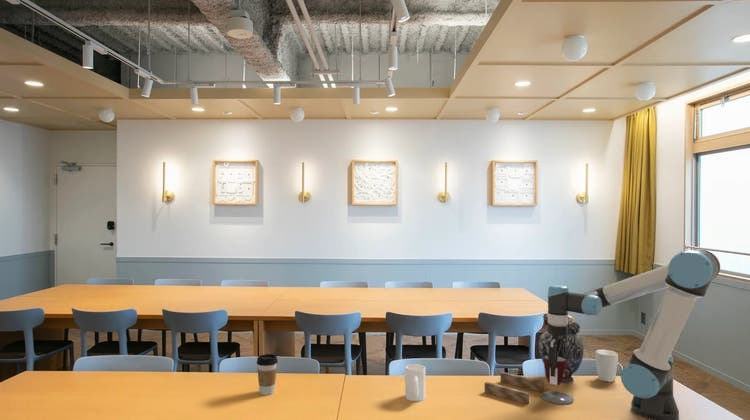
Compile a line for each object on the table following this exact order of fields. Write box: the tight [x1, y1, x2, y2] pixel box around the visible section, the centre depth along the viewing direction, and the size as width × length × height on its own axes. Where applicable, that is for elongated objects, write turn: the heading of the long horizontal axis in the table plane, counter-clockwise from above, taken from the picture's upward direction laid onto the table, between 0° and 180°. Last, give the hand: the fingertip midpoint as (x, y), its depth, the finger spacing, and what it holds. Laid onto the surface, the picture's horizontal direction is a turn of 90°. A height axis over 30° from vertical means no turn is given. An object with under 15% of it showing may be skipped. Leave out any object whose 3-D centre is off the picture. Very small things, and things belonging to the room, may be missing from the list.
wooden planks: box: [484, 371, 544, 405], centre depth 187 cm, size 18×17×4 cm
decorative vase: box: [538, 312, 585, 384], centre depth 202 cm, size 21×19×28 cm
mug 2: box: [543, 356, 573, 386], centre depth 181 cm, size 10×8×10 cm
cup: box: [594, 349, 619, 383], centre depth 202 cm, size 9×9×12 cm
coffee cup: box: [256, 353, 278, 396], centre depth 185 cm, size 8×8×15 cm
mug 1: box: [404, 363, 426, 402], centre depth 179 cm, size 8×12×12 cm
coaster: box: [541, 390, 575, 406], centre depth 180 cm, size 12×12×1 cm
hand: (557, 380), depth 181 cm, fingers closed on mug 2, 8 cm apart
